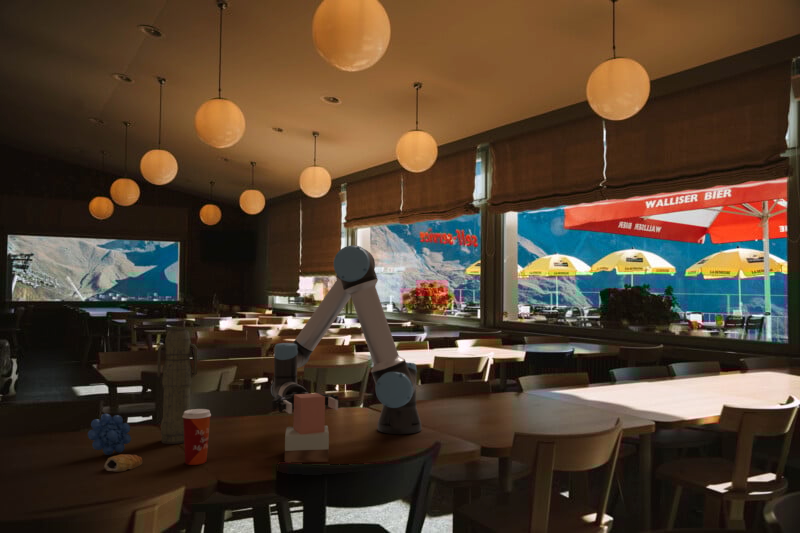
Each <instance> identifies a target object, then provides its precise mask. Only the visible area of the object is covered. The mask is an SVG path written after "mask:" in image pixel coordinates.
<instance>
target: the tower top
mask: <svg viewBox="0 0 800 533" xmlns="http://www.w3.org/2000/svg"><path fill="white" fill-rule="evenodd" d="M284 437H285V438H284V452H285V451H294V450H323V449H330V447H329V445H330V433H329V427H328V425H325V432H319V433H309V434H300V433H298V432H297V431H295V430H294V426H286V429H285V436H284Z"/></svg>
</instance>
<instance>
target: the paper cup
mask: <svg viewBox="0 0 800 533" xmlns="http://www.w3.org/2000/svg"><path fill="white" fill-rule="evenodd" d="M211 416H212V413H211V411H210V409H206V408H196V409H195V408H193V409H190V410H187V411H184V415H183V416H182V417H183V422H184V443H183V445H184V446H183V447H184V462H185V465H189V466H196V465H197V466H198V465H203V464H206V463H205V462H207V460H208V459H207V458H208V448H209V434H210V422H211Z"/></svg>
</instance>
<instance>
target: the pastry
mask: <svg viewBox="0 0 800 533" xmlns="http://www.w3.org/2000/svg"><path fill="white" fill-rule="evenodd" d="M142 464H143V457H141V456H138V455H137V454H124V453H122V454H117V455H113V456H110V457H107V460H106V461H105V463H104V469H105V470H106V471H108V472H114V473H115V472H116V473H117V472H118V473H120V472H121V473H122V472H126V471H127V470H132V469H133V470H134V469H136V468H137V467H140V466H141V465H142Z"/></svg>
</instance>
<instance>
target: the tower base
mask: <svg viewBox="0 0 800 533" xmlns="http://www.w3.org/2000/svg"><path fill="white" fill-rule="evenodd" d="M329 449H330V448H329ZM329 449H323V450H294V451H285V450H284V461H291V462H290V463H319V462H320V463H323V462H325V463H326V462H328V463H329Z"/></svg>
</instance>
